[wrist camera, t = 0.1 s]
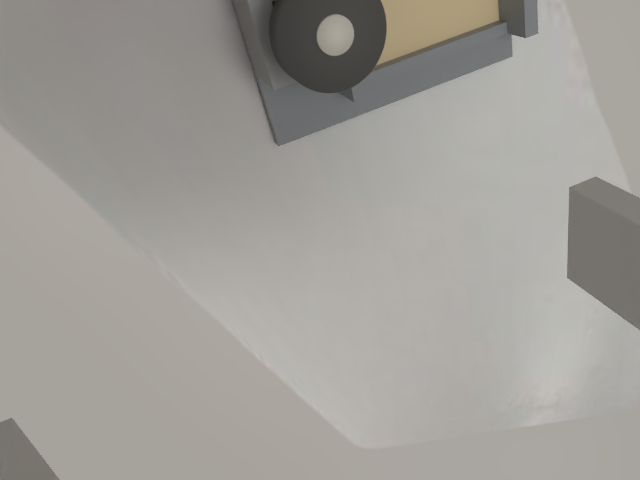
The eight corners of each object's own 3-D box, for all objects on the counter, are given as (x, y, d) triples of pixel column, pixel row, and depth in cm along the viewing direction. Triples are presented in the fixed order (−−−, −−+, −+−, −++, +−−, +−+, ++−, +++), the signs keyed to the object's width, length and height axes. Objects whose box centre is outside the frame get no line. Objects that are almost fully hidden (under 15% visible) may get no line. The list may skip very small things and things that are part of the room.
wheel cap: (236, -19, 32) (264, -8, 27) (333, -50, 33) (377, -46, 28) (266, 84, 35) (297, 110, 30) (354, 52, 36) (397, 72, 32)
